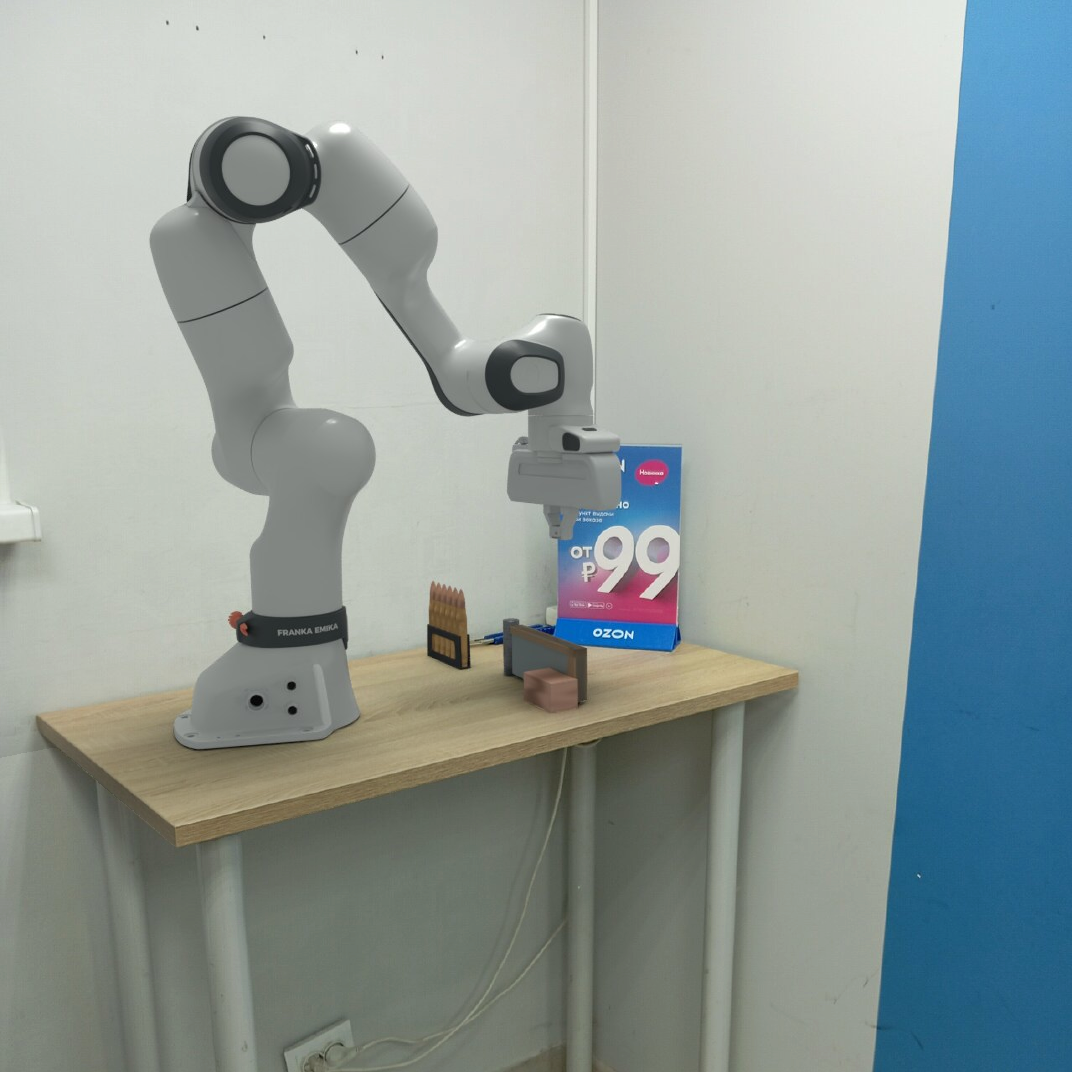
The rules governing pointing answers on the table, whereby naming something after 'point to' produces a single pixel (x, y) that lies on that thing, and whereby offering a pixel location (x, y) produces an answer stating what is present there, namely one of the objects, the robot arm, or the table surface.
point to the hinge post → (508, 645)
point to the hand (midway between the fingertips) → (561, 539)
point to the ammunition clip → (448, 627)
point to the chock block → (550, 690)
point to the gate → (548, 655)
